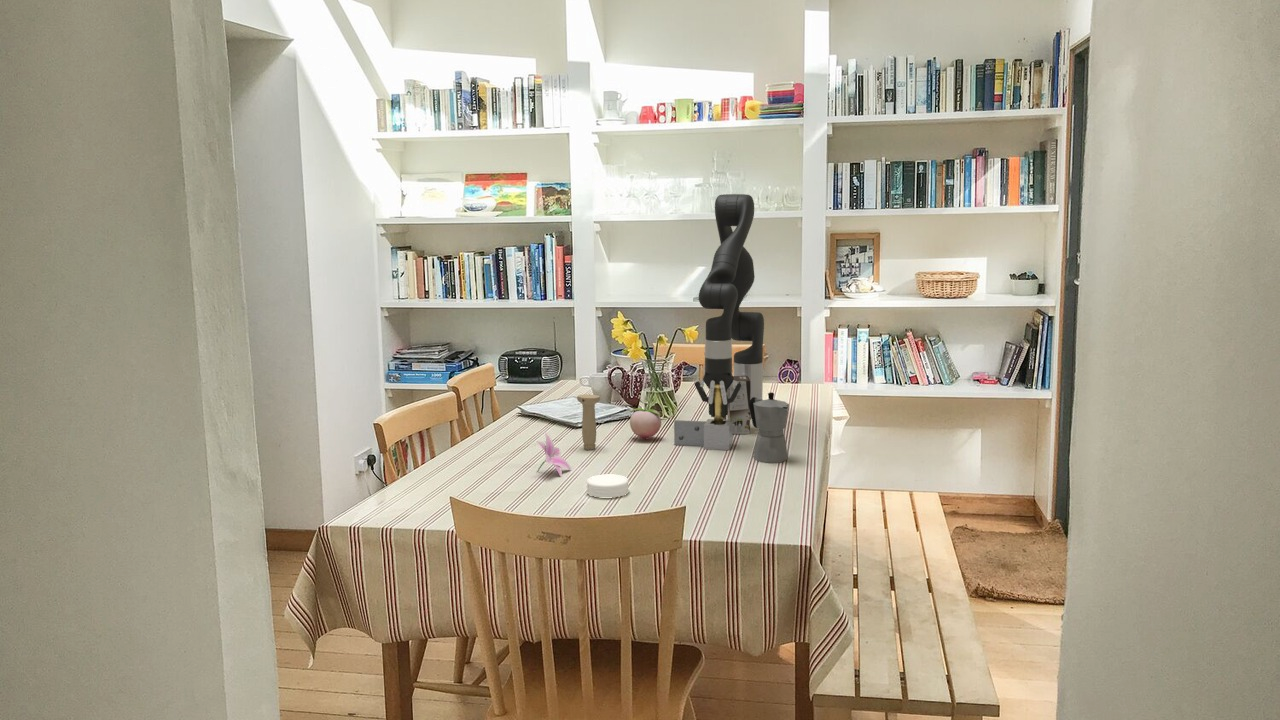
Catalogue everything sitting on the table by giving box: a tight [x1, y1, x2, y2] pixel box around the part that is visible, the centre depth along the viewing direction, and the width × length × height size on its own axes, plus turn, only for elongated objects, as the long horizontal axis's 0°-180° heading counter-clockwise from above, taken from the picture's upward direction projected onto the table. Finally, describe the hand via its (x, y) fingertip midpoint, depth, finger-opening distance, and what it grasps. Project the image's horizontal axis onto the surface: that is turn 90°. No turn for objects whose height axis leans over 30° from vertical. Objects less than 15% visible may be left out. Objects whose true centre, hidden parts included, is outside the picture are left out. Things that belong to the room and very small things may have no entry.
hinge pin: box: [713, 384, 723, 424], centre depth 270 cm, size 4×4×13 cm
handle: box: [576, 393, 601, 451], centre depth 270 cm, size 5×6×15 cm
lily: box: [536, 431, 572, 477], centre depth 247 cm, size 12×12×10 cm
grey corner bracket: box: [673, 416, 734, 451], centre depth 277 cm, size 16×16×7 cm
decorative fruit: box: [629, 405, 662, 440], centre depth 280 cm, size 9×8×10 cm
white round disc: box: [586, 473, 630, 497], centre depth 230 cm, size 10×10×4 cm
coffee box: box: [727, 375, 751, 435], centre depth 289 cm, size 9×6×16 cm
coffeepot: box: [749, 392, 790, 464], centre depth 258 cm, size 15×9×18 cm, turn 34°
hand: (718, 416), depth 271 cm, fingers closed on hinge pin, 2 cm apart
